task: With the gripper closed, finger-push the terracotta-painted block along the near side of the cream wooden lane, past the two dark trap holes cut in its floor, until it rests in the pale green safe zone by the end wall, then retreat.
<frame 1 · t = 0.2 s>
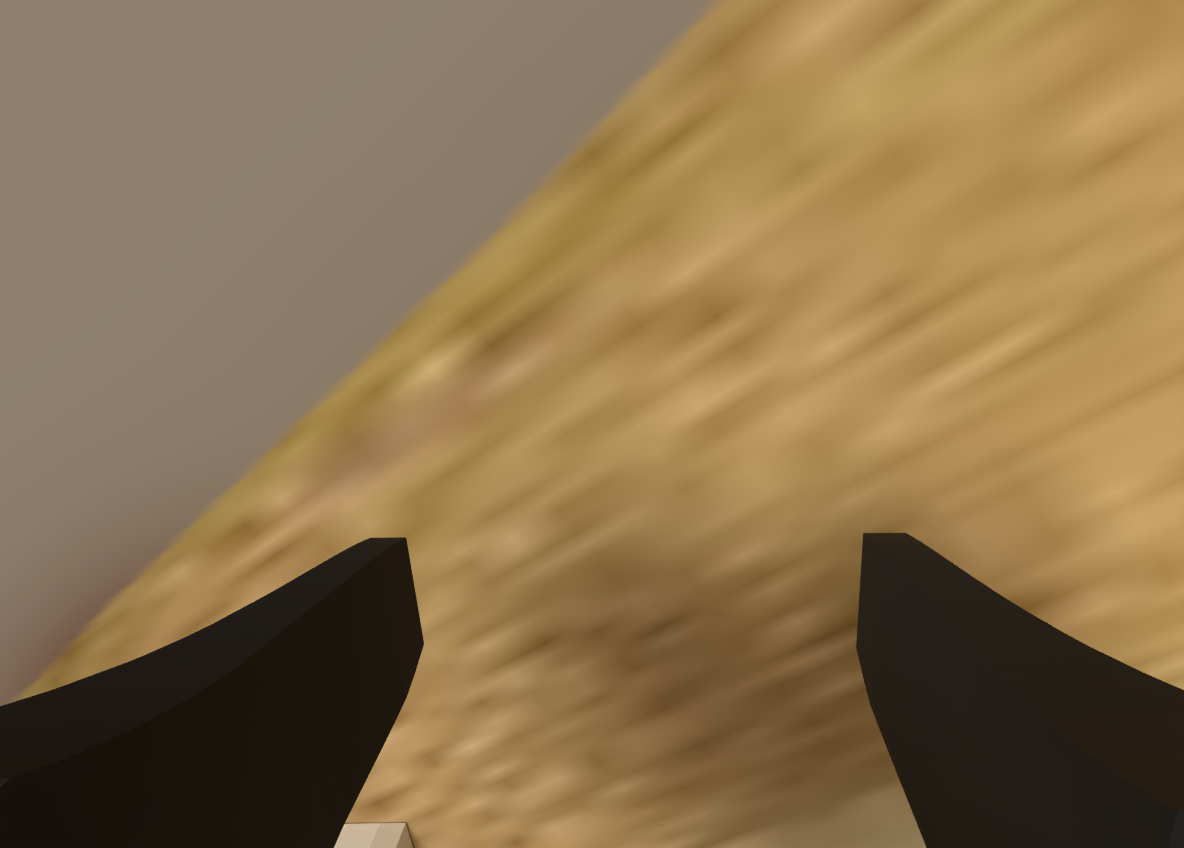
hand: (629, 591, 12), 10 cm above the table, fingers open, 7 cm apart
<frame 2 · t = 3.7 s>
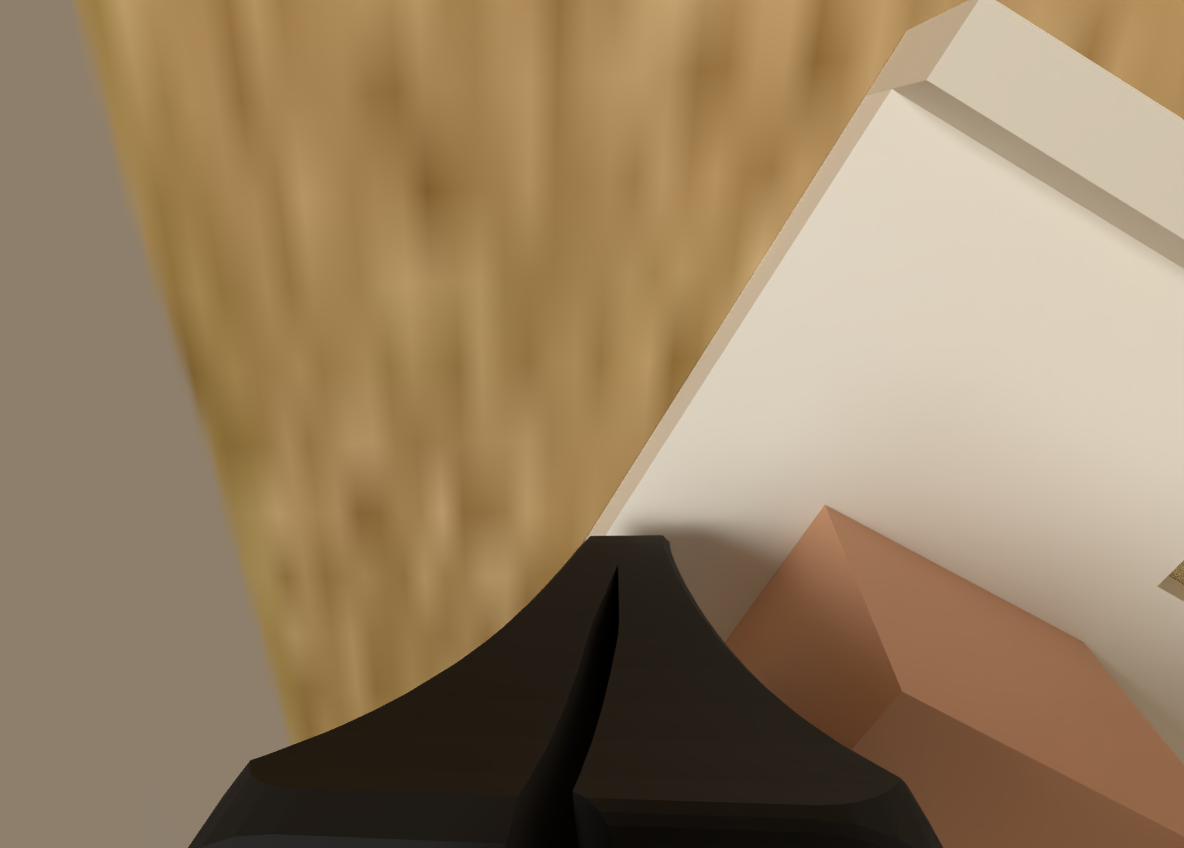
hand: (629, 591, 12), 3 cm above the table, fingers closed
block: (866, 680, 13), point 2 cm above the table, touching gripper
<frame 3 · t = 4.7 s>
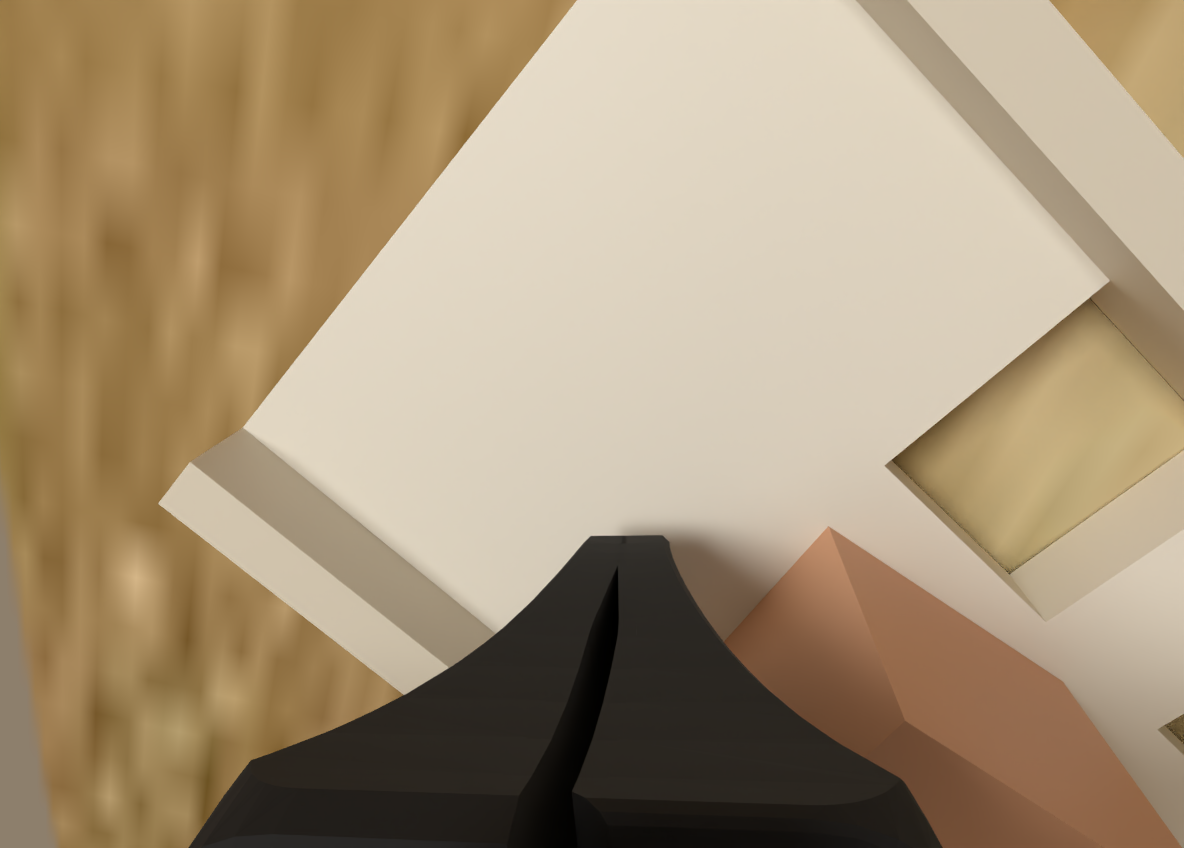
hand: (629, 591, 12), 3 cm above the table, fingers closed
lane: (976, 653, 15), on the table
block: (849, 701, 14), point 2 cm above the table, touching gripper
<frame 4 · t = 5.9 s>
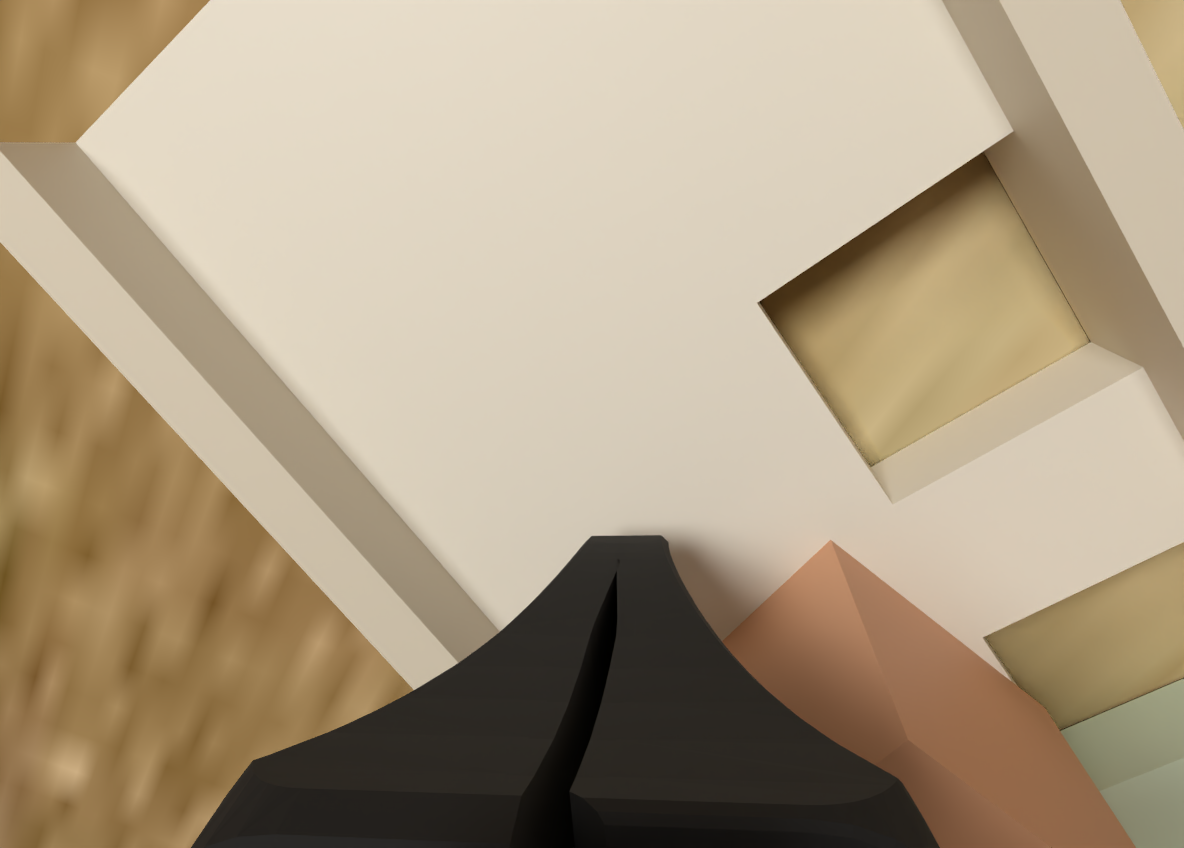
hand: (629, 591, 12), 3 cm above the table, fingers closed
lane: (825, 549, 14), on the table
block: (834, 713, 14), point 2 cm above the table, touching gripper
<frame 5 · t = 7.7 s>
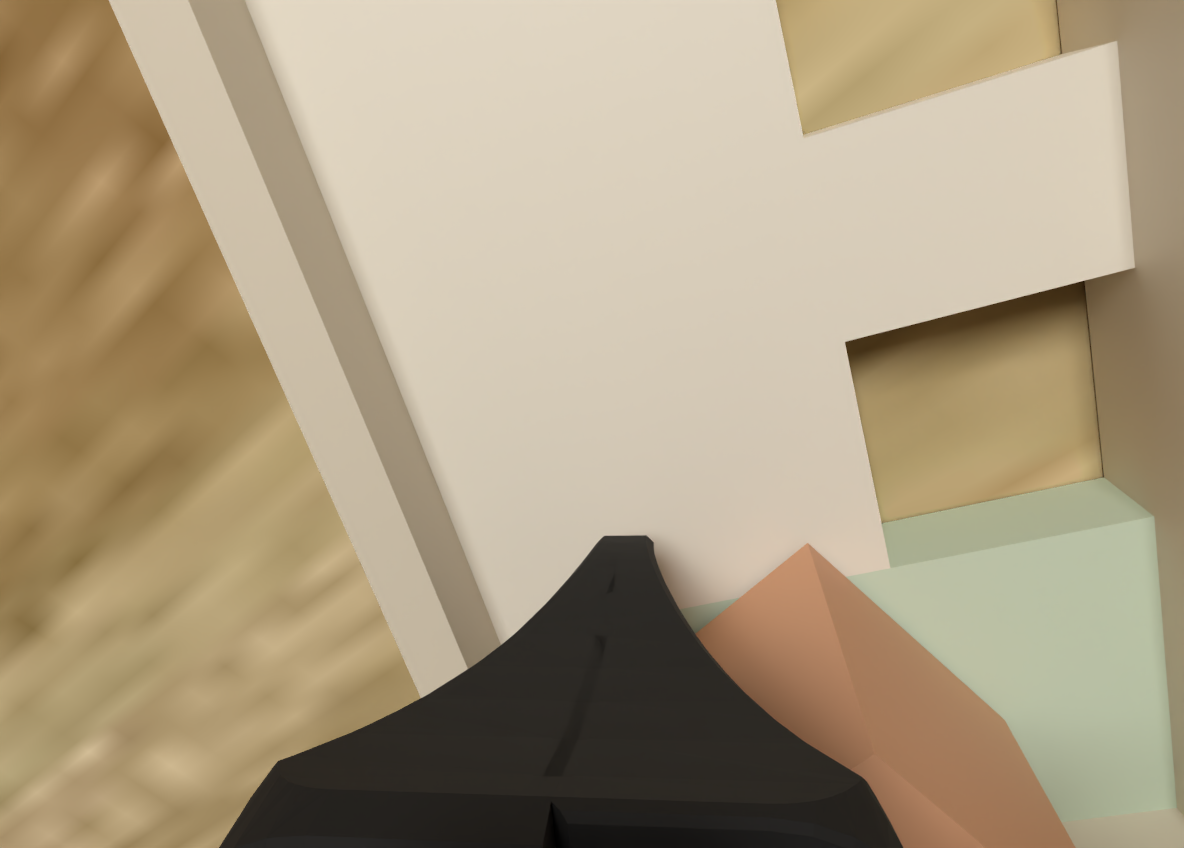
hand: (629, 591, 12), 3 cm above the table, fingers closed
lane: (710, 229, 12), on the table
block: (798, 713, 14), point 2 cm above the table, touching gripper, lane
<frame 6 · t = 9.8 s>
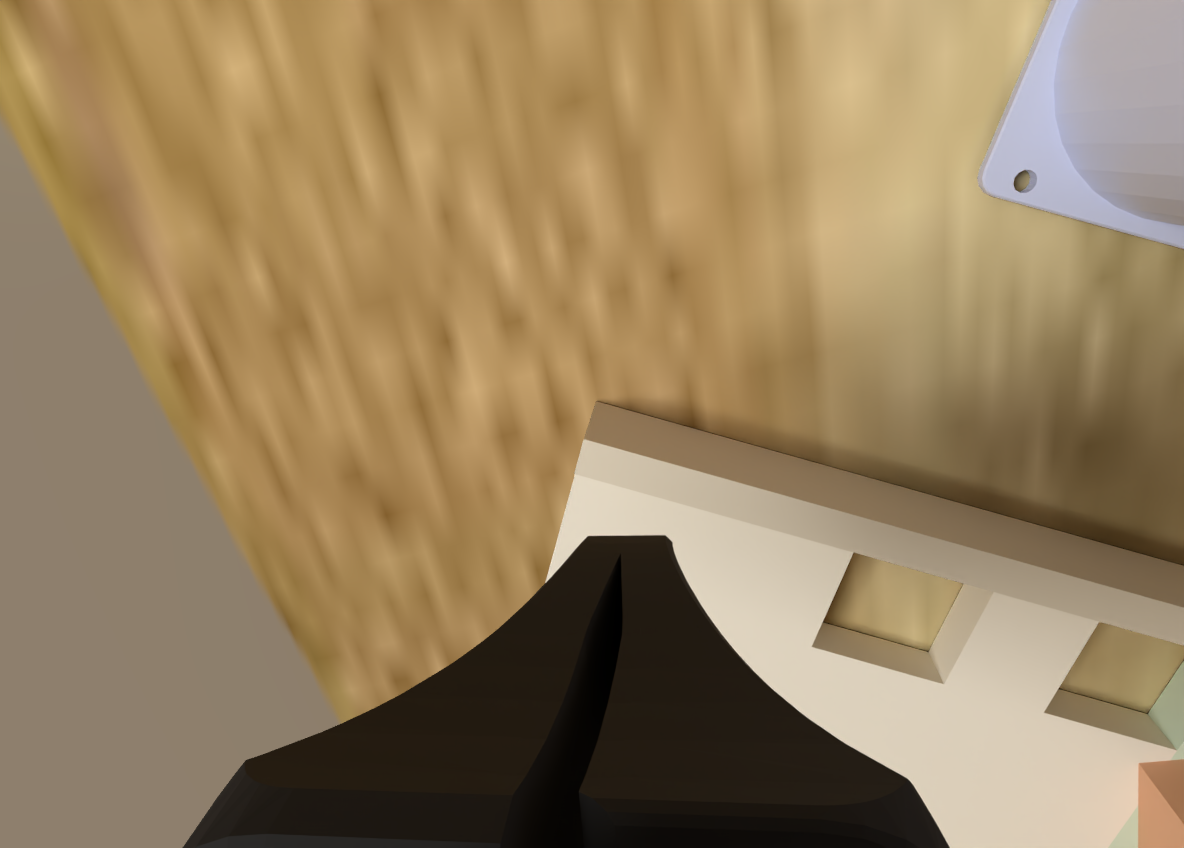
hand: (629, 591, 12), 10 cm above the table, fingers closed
lane: (939, 698, 24), on the table
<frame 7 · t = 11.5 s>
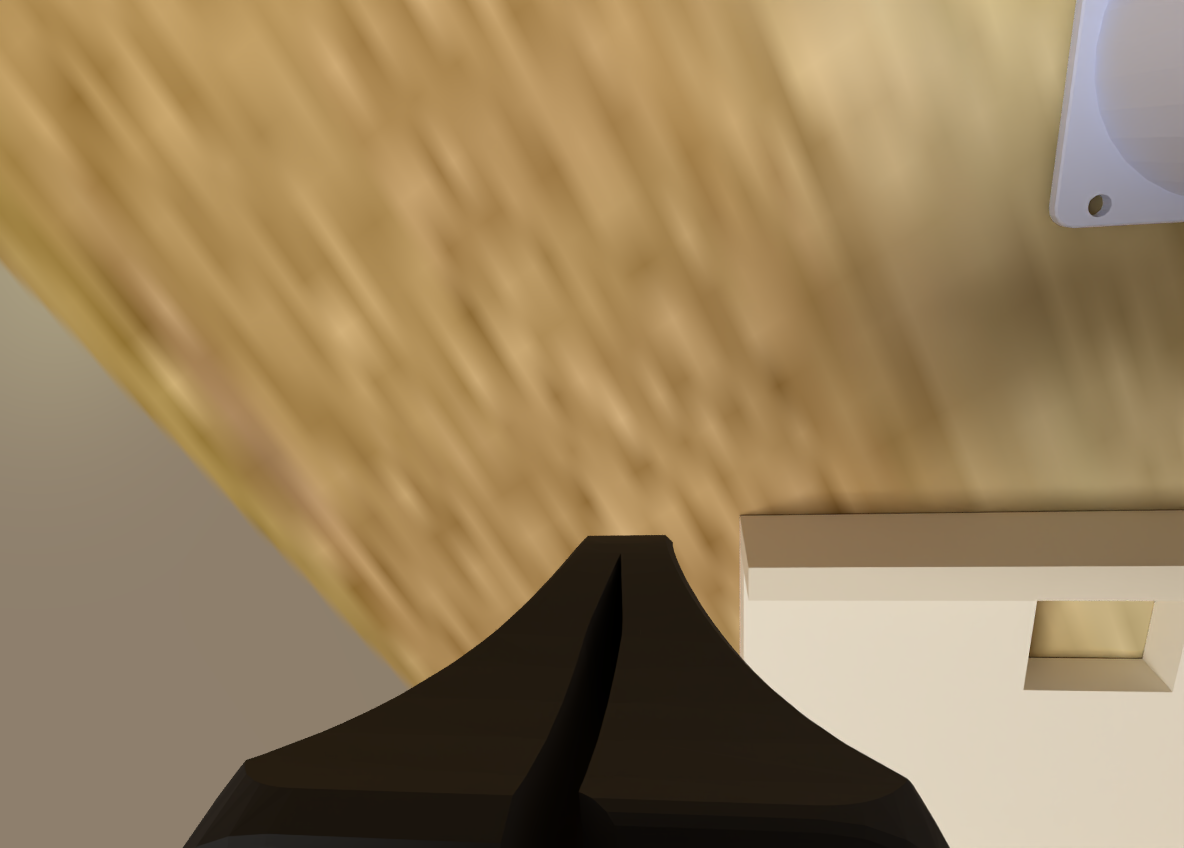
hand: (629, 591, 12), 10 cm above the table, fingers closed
lane: (1168, 699, 23), on the table
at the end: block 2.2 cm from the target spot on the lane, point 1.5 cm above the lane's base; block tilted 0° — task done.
